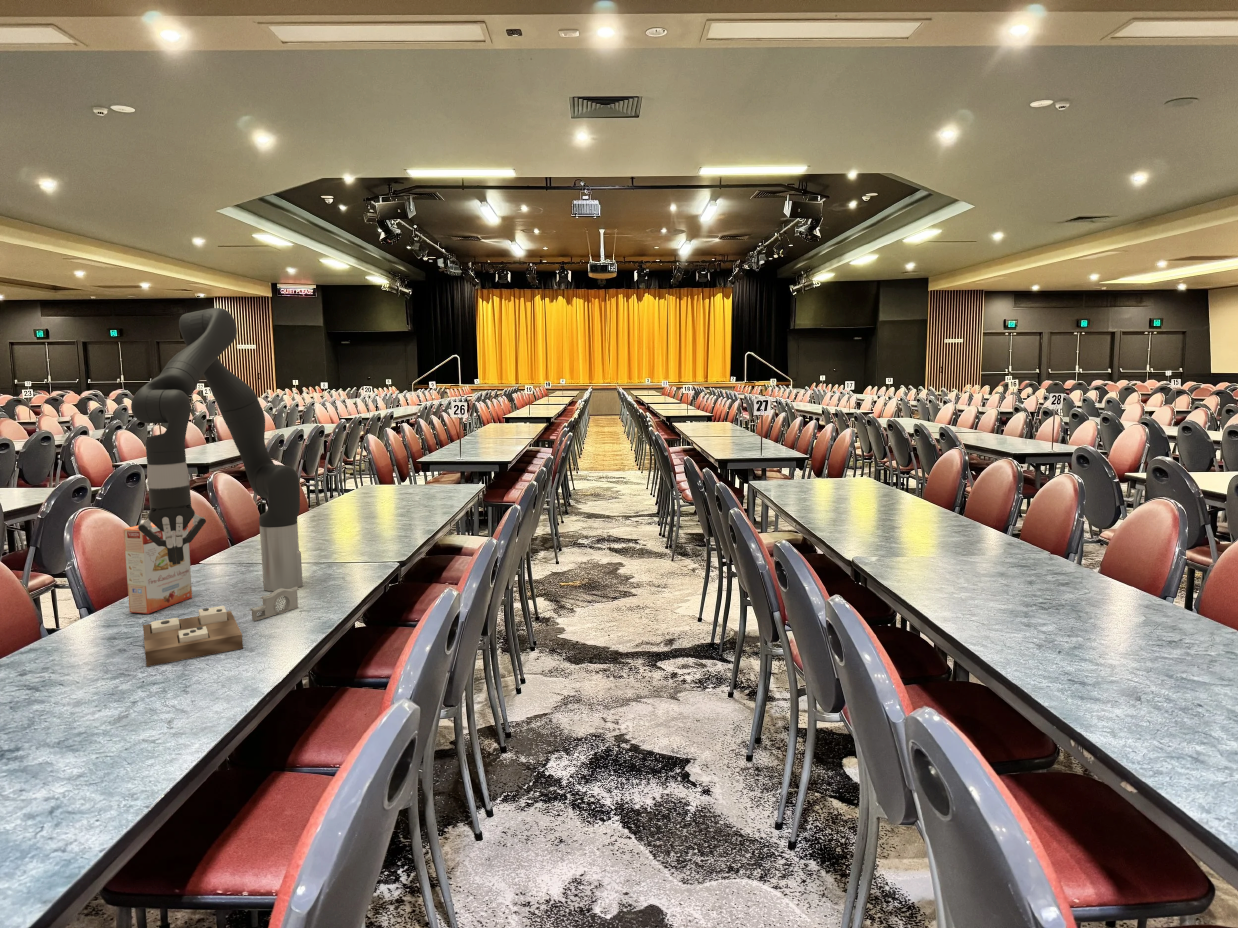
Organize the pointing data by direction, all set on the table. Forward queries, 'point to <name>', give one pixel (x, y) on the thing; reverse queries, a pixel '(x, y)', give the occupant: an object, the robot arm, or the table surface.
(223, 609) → the key two dots
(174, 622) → the key one dot
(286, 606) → the lattice window wall
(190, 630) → the key three dots
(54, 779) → the table surface
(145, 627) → the key panel
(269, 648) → the table surface
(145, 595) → the cracker box
